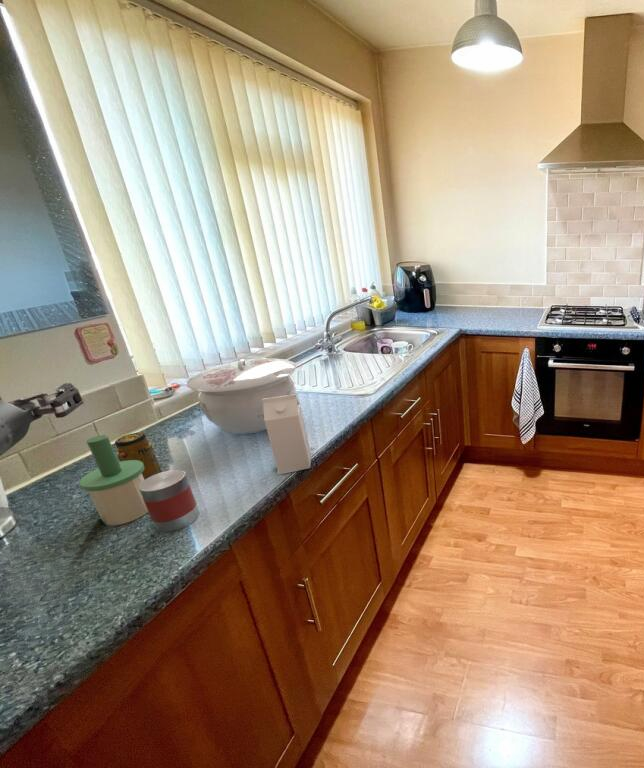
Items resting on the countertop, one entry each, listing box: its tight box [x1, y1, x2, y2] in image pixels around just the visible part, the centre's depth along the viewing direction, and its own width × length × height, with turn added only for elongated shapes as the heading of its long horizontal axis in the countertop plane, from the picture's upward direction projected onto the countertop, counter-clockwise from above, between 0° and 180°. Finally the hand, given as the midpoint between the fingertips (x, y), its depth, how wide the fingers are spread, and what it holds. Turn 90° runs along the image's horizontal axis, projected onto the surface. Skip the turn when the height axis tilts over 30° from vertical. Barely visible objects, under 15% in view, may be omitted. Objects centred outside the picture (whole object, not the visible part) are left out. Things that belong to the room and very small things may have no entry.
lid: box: [78, 434, 144, 492], centre depth 81 cm, size 10×10×9 cm
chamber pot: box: [186, 357, 297, 435], centre depth 120 cm, size 28×28×21 cm
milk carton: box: [262, 393, 312, 475], centre depth 99 cm, size 7×7×19 cm
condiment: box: [114, 432, 163, 480], centre depth 94 cm, size 7×8×12 cm
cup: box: [87, 473, 149, 526], centre depth 84 cm, size 8×8×9 cm
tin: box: [139, 469, 200, 533], centre depth 82 cm, size 7×7×10 cm
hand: (35, 393), depth 65 cm, fingers open, 8 cm apart
